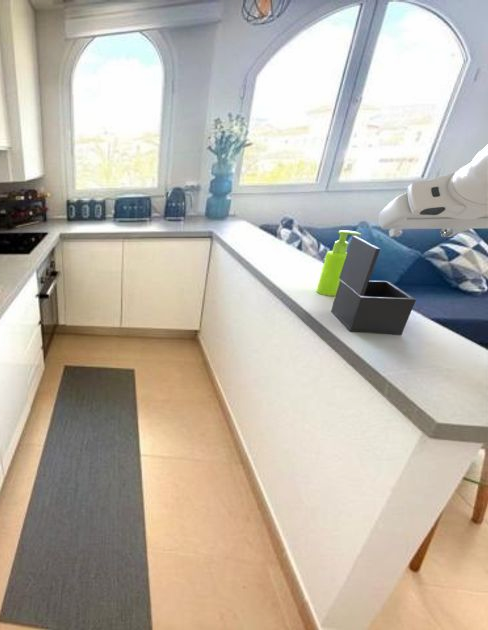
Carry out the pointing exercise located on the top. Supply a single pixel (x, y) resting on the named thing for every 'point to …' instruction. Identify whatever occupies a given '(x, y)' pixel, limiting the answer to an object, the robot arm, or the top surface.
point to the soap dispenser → (334, 265)
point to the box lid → (359, 264)
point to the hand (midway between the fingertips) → (418, 234)
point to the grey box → (373, 308)
